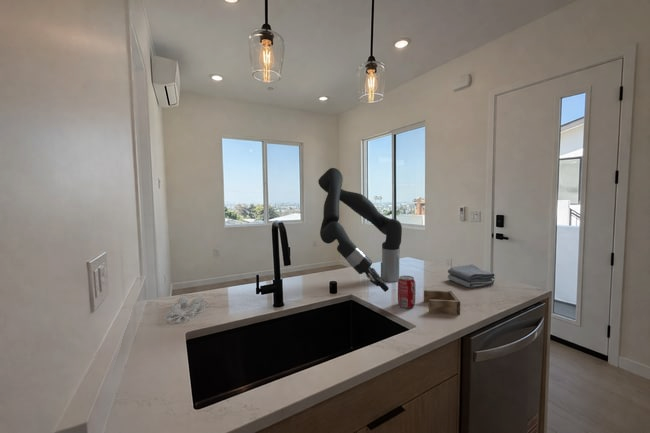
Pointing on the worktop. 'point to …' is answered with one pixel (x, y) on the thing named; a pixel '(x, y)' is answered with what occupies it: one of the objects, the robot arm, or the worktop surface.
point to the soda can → (406, 291)
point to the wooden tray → (442, 302)
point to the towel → (470, 276)
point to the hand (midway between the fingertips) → (387, 289)
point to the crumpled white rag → (180, 313)
